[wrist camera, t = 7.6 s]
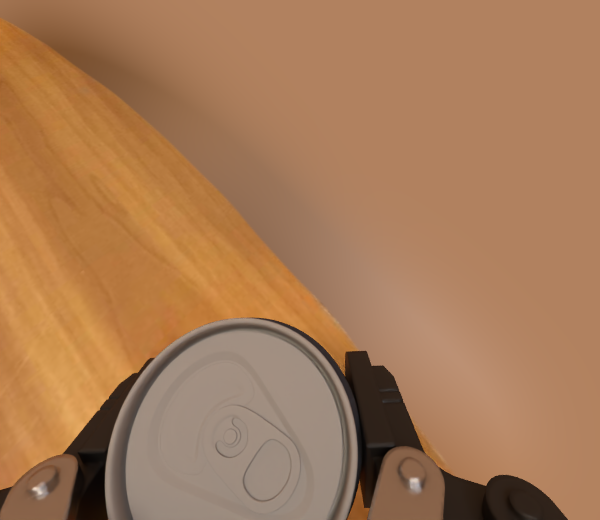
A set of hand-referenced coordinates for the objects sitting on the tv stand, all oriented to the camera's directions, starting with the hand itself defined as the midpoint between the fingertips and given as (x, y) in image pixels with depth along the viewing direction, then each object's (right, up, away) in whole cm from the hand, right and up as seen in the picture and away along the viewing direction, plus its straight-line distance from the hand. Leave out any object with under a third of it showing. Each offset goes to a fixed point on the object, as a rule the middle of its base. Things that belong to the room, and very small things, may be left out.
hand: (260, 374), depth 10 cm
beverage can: (+1, -6, +10) cm, 12 cm away
